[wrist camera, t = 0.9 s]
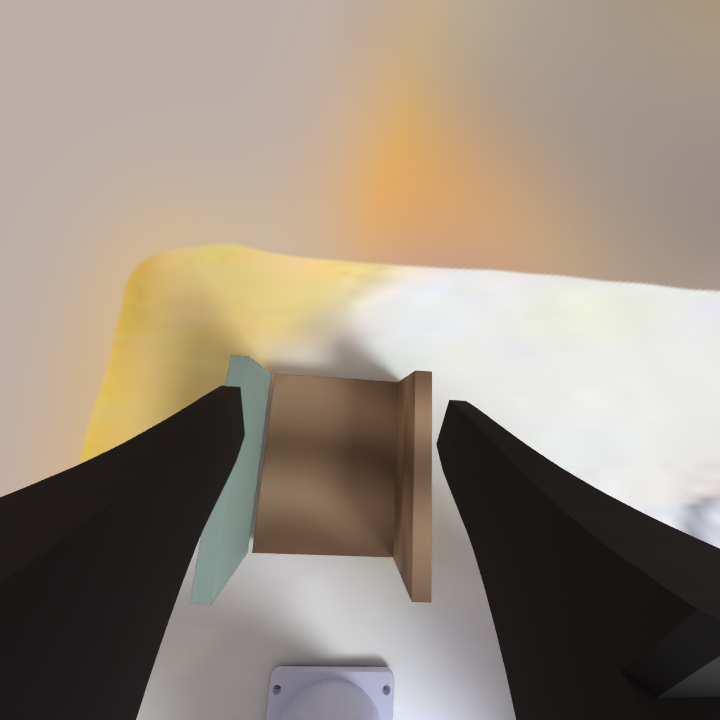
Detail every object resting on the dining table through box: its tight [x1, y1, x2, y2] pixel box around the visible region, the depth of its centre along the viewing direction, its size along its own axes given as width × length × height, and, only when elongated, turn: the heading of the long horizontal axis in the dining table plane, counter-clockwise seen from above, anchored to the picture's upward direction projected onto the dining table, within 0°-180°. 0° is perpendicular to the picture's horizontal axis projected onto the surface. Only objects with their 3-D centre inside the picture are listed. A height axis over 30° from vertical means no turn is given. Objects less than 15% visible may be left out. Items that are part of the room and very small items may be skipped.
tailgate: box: [190, 355, 271, 604], centre depth 17 cm, size 12×1×6 cm, turn 177°
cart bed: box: [252, 371, 432, 602], centre depth 19 cm, size 12×10×6 cm
